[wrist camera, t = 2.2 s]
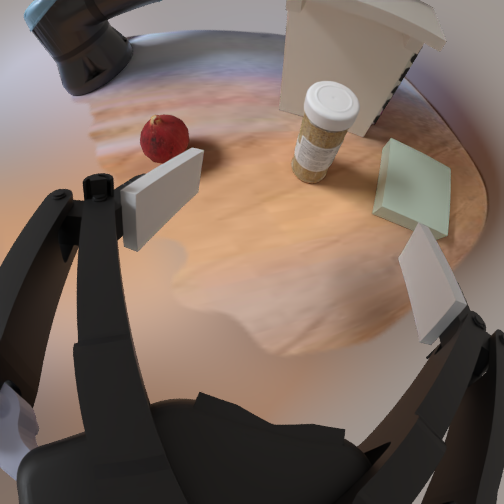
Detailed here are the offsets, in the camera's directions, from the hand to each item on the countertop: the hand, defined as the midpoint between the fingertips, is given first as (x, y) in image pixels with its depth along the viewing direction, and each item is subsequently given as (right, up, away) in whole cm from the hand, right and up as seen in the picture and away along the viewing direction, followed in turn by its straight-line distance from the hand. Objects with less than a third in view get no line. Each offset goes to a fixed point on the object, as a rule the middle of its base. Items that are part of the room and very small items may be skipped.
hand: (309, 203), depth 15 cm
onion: (-13, +10, +18) cm, 24 cm away
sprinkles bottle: (+4, +7, +17) cm, 19 cm away
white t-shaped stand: (+6, +13, +18) cm, 22 cm away
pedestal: (+18, +5, +16) cm, 25 cm away
